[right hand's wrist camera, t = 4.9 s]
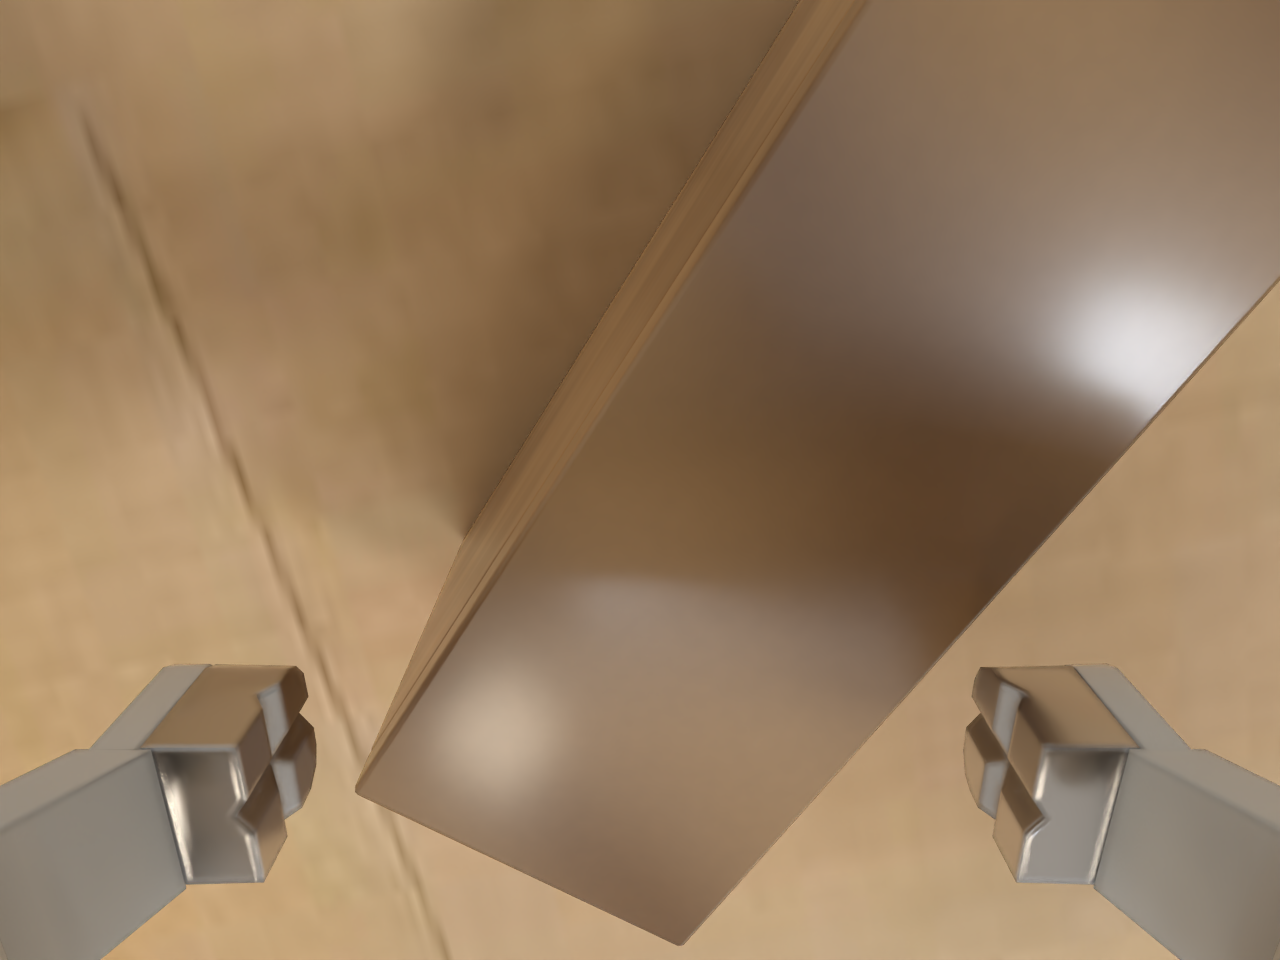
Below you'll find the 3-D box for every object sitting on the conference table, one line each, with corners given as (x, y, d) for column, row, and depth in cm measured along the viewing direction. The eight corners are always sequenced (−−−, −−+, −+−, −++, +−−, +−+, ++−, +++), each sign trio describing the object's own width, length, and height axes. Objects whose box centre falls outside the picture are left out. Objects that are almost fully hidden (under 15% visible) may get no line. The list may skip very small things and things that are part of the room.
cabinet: (1026, -364, 14) (1501, -981, 6) (1268, -140, 15) (1926, -433, 7) (462, 541, 20) (350, 794, 12) (666, 653, 21) (682, 950, 13)
